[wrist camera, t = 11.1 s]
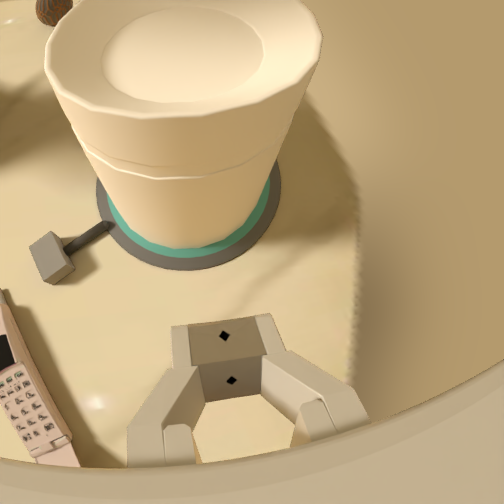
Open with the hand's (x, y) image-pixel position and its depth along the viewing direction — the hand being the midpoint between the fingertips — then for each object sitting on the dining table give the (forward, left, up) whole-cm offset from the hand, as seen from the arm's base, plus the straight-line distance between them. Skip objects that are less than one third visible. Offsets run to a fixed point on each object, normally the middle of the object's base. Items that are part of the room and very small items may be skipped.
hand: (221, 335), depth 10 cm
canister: (-15, +7, -21) cm, 27 cm away
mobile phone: (-4, -20, -21) cm, 29 cm away
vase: (-59, +4, -21) cm, 63 cm away
